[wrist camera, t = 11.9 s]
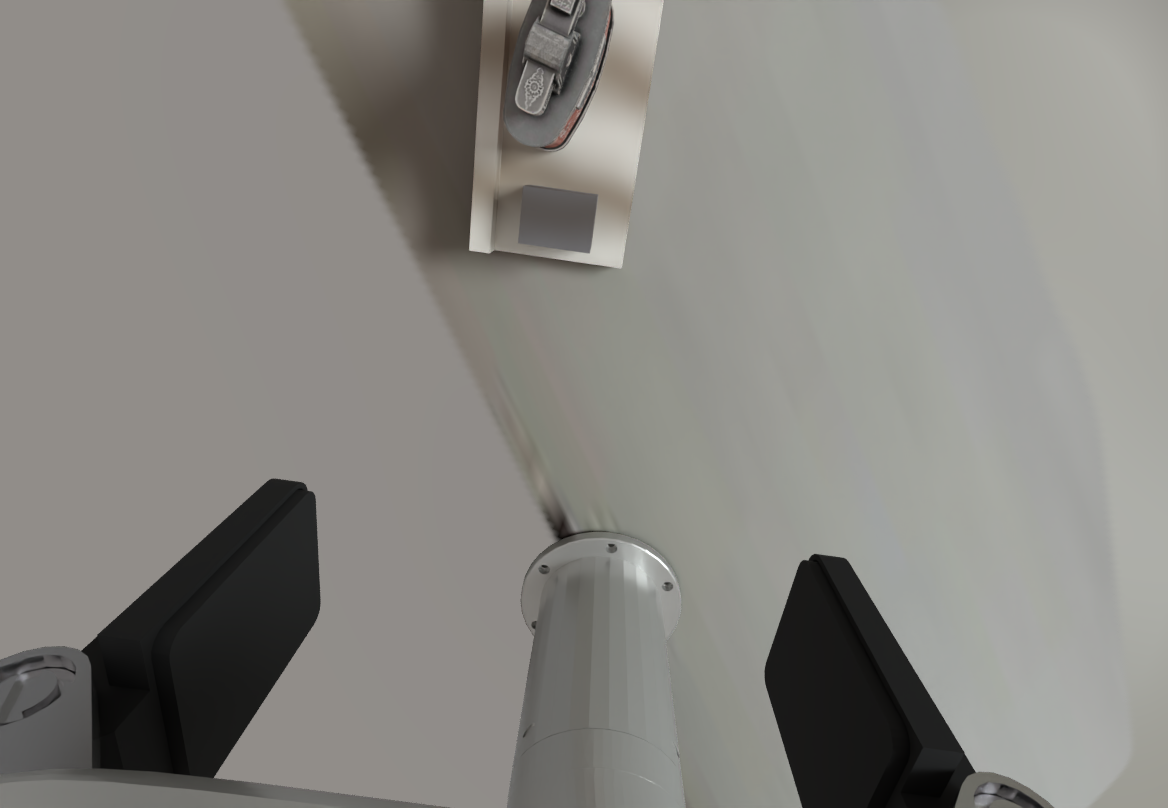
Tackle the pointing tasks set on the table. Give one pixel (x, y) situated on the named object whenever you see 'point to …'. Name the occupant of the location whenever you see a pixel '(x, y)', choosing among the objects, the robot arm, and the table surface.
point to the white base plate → (578, 171)
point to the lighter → (556, 70)
